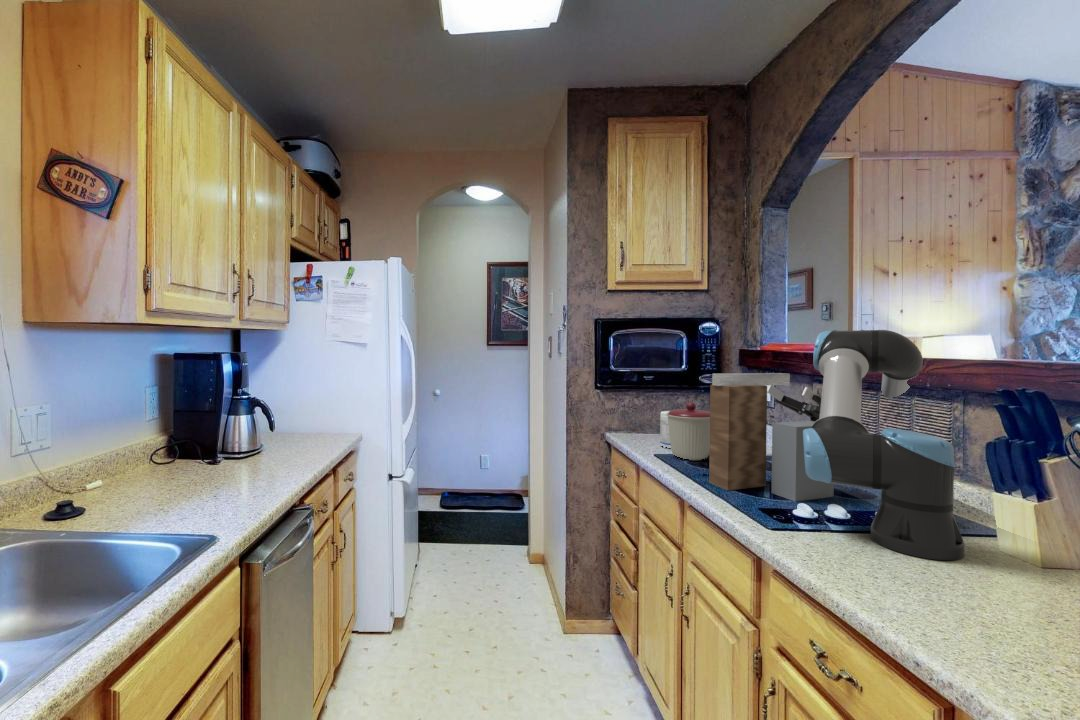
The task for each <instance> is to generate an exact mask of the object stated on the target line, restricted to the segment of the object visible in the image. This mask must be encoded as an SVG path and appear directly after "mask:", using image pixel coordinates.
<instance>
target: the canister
mask: <svg viewBox="0 0 1080 720" xmlns="http://www.w3.org/2000/svg"><path fill="white" fill-rule="evenodd" d="M685 407H686V408H676V409H671V410H669V411H670V412H669V413H666V415H667V416H668V424H669V434H670V443H671V453H672V455H673V456H674V455H675V456H677V457H680V458H683V459H682V460H684V459H689V460H688V461H703V460H702V459H704V460H706V459H707V458H708V457H709V455H710V410H703V409H698V408H697V406H696V403H695V402H692V401H691V402H690V401H689V402H687V403H686V405H685ZM675 456H674V457H675ZM677 457H676V458H677ZM680 458H679V459H680ZM705 458H706V459H705Z"/></svg>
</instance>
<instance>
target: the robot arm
mask: <svg viewBox="0 0 1080 720" xmlns="http://www.w3.org/2000/svg"><path fill="white" fill-rule="evenodd" d="M923 363H924V359H923V355H922V352H921V351H920V349H919V348H918V346H917V345H916V344H915V343H914V342H913V341H912V340H911V339H909V338H908V337H906V336H905V335H903V334H901V333H899V332H896V331H892V330H887V329H878V330H877V329H876V330H875V329H872V330H871V329H869V330H868V329H867V330H866V329H864V330H836V329H835V330H834V329H833V330H826V331H822V332H820V333H818V335H817V337H816V339H815V343H814V348H813V367H814V370H816V371H819V372H820V375H822V376H823V378H822V379H823V380H822V389H821V396H820V395H818V394H817V393H816V392H814V391H813V390H811V389H810V388H809V387H807V386H805V387H804V389H803V391H802V394H801V396H803V398H805V399H806V400H808V401H809V402H811V403H812V404H811V403H808V402H806V401H802V402H801V401H799V400H797V399H794V398H792V397H790V396H787V395H785V393H783V391H781V390H780V389H778V388H777V387H775V385H767V394H769V395H770V396H772V397H773V398H775V399H774V403H776V404H779V405H780V406H783V407H784V408H787V409H790V410H791V411H794V412H795V413H796V414H798V415H801V416H802V415H803V414H804V415H805V416H807V417H809V419H810V421H814V424H813V425H812V427H811V428H808V429H804V430H803V445H804V458H805V471H806V475H807V476H808V477H809V478H810V479H812V480H816V481H822V482H825V483H828V484H829V483H832V484H834V485H842V486H849V487H857V488H863V489H864V488H865V489H872V490H873V489H874V490H880V491H881V494H880V496H881V497H880V499H881V501H880V504H879V506H878V509H877V510H876V513H875V516H874V518H873V520H872V523H871V525H870V538H871V540H873V542H875V543H877V544H878V545H880V546H882V547H885V548H888V549H890V550H892V551H896V552H898V553H901V554H904V555H908V556H914V557H918V558H923V559H929V560H940V561H954V560H955V561H956V560H960V559H963V558H964V557H965V543H964V540H963V536H962V534H961V531H960V529H959V525H958V523H957V521H956V518H955V514H954V498H955V497H954V491H955V489H954V488H955V486H954V484H955V482H954V481H955V480H954V478H955V468H956V463H955V450H954V447H953V445H952V444H951V442H949V441H948V440H946V439H943V438H942V437H939V436H935V435H931V434H927V433H923V432H917V431H913V430H907V429H901V428H892V427H891V428H890V427H888V428H887V427H886V428H882V429H883V430H882V431H881V433H880V434H874V433H869V430H868V429H867V427H866V426H865V425H864V424H863V423H862V421H861V407H862V399H863V397H862V394H863V393H862V391H863V390H862V389H863V386H862V385H863V378H865V376H866V375H867V373H882V376H881V377H882V378H881V390H880V392H881V391H882V393H883V395H884V396H885V397H888V398H893V397H897V396H899V395H901V394H903V393H905V392H906V391H907V390H908V389H909V388H910V386H909V385H908V384H907V381H908V380H909V379H912V378H914V377H915V378H916V377H918V376H919V374H920V373H921V372H920V370H921V371H922V369H923V365H924V364H923ZM921 368H922V369H921ZM919 372H920V373H919Z"/></svg>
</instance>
